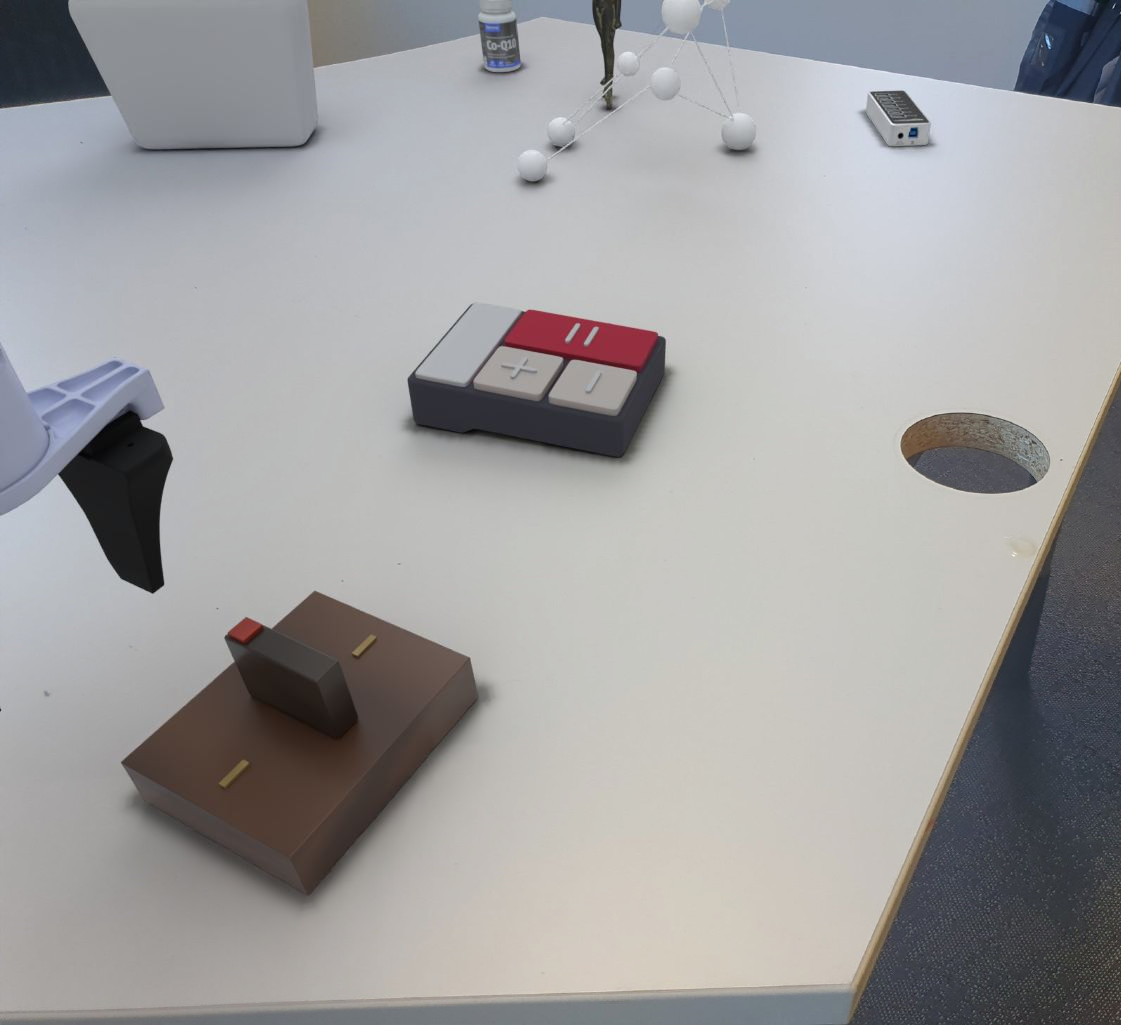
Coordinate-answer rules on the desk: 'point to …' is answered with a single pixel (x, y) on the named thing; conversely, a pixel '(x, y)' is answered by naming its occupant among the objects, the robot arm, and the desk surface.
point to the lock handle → (292, 677)
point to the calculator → (539, 378)
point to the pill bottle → (499, 36)
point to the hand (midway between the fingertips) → (65, 640)
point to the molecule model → (665, 84)
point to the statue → (607, 38)
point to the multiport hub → (897, 118)
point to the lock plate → (305, 746)
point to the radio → (205, 69)
